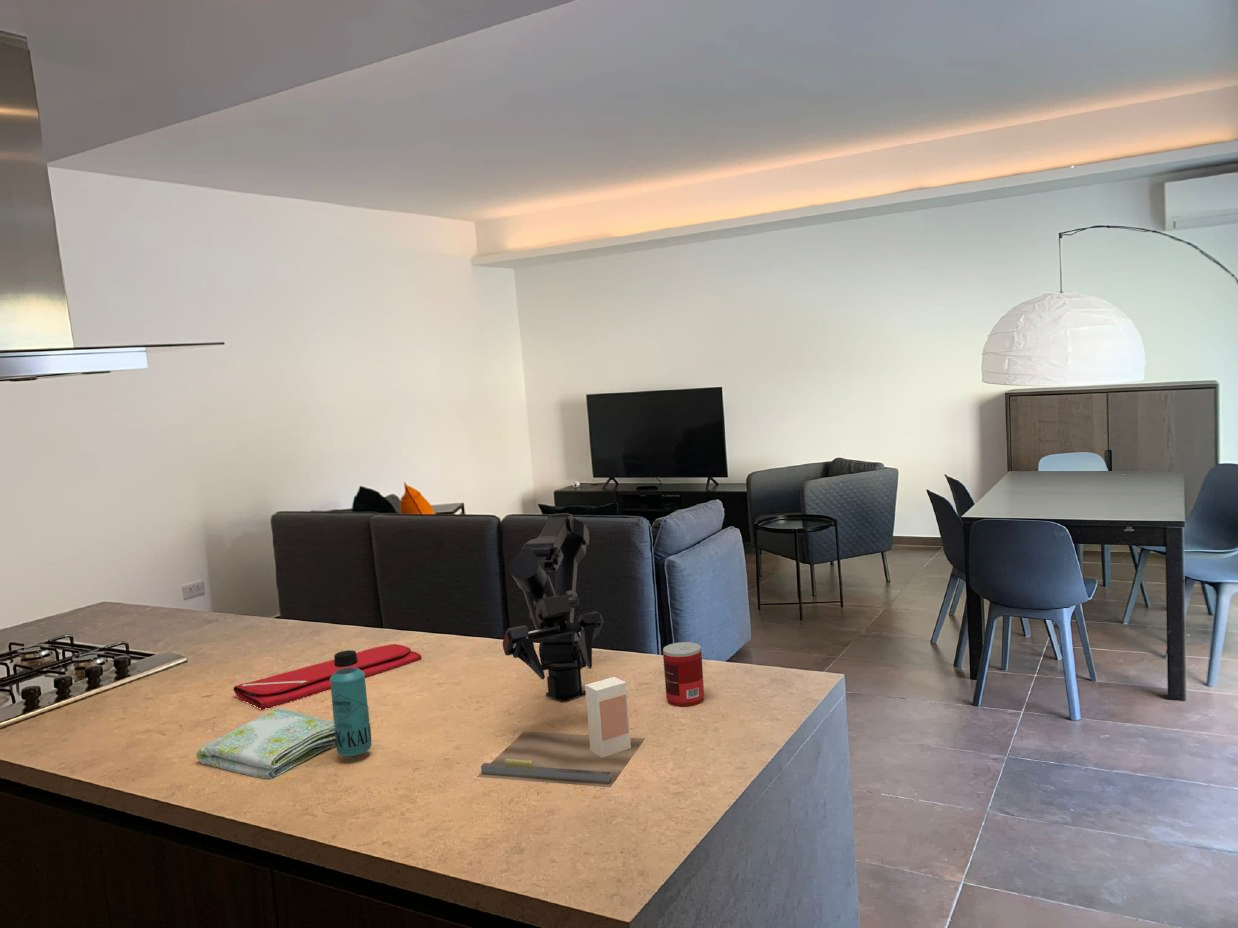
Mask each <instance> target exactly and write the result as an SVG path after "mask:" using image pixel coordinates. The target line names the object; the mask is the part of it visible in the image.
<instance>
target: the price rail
mask: <svg viewBox="0 0 1238 928" xmlns="http://www.w3.org/2000/svg"><path fill="white" fill-rule="evenodd" d="M481 772H482V775H495V776H508V777H521V778H534V779H547V780H560V781H573V782H586V783H599V784H610V783H611V781H612V778H611V772H602V771H588V770H574V769H561V768H547V767H533V761H532V760H518V759H505V764H491V762H490V763H489V762H484V763H482V764H481V766H480V773H481Z"/></svg>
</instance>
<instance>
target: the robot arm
mask: <svg viewBox="0 0 1238 928" xmlns="http://www.w3.org/2000/svg"><path fill="white" fill-rule="evenodd" d="M589 543H590V532H589V528H588V527H587V526H586V524H585V522H583V521H581V520H579V519H576V518H574V516H573V514H572V513H571V514H570V513H568V512H566V513H552V514H549V515H548V517H547V523H546V524H545V526H544V527H543V529H542V531H541V532H540V534H539V536H538V537H537V538H533V539H530V540H528V541H527V542H526V543H524V545H523V547H521V550H520V552H519V553H517V554H516V555H515V556H514V557H513V558H511V560H510V562H509V565H508V571H509V573H510V575H511V577H512V578H513V580H514V581H515V583H516V584H517V586H518V588H519V589H521V591H522V592H523V594H524V598H525V601H526V604H527V607H528V609H529V617H530V621H532V622H533V624H534V627H535V629H533V630H530V631H529V628H528V626H527V625H526V624H523V625H519V626H513V627H510V628H509V627H508V628H506V631H505V633H504V638H503V640H502V649H503V652H504V655H505V656H512V658H513V659H516V658H517V659H520V661H522V662H523V663H525V664H526V665H527V666H528V667H529V668H530V669H531V670H532V671H533V672H534V673H535V674H536V675H537V676H538V678H540V679H541V680H545V678H547V679H546V680H547V682H546V683H547V692H546V693H545V696H546V697H549V698H551V699H553V700H557V701H559V702H561V703H562V702H563V703H564V702H567V701H570V700H573V699H575V698H578V697H582V696H584V695H586V689H583V686H582V669H583V668H586V667H587V668H588V669H589V670H590V669H592V667H593V641H594V640H595V638H596V637H598V636H599V635H600V633H601V630H602V627H603V625H604V623H605V621H604V618H603V616H602V614H601V612H599V611H591V612H590V611H589V612H585V613H579V616H578V618H577V621H575V622H574V618H575V617H574V616H575V615H574V614H575V608H577V607H579V606H580V599H579V596H578V593H577V591H576V589H577V588H576V587H577V578H578V577H577V576H578V566H579V564H580V562H581V561H582V560H583V559H584V557H585V556H586V553H587V546H588V545H589ZM548 572H555V581H554V582H555V583H554V586H553V582H552V579H551V578H550V575H549V574H548ZM537 641H540V642H539V645H538V654H537V651H536V648H535V645H534V644H535V643H534V642H537ZM538 655H539V656H538ZM545 671H547V673H548V676H547V677H546V675H545Z"/></svg>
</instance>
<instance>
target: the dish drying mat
mask: <svg viewBox="0 0 1238 928" xmlns="http://www.w3.org/2000/svg"><path fill="white" fill-rule="evenodd" d="M356 655H357V659H358V662H357V663H356V664H354V665H351V666H347V667H356V668H358V669H360V670H362V671H363V672H364V673H365V679H367V678H370V677H373V676H376V675H379V674H382V673H385V672H388V671H391V670H394V669H397V668H400V667H403V666H406V665H410V664H413V663H415V662H418V661H421V660H422V655H421V654H420V653H419V652H418V651H417V652H416V651H413V650H411V648H410V647H408V646H405V645H402V644H397V643H395V644H394V643H393V644H386V645H381V646H376V647H373V648H368V649H365V650H362V651H358V652H356ZM347 667H336V666H335V665H334V659H331V660H328V661H327V660H326V661H324V662H319V663H315V664H312V665H311V664H310V665H308V666H305V667H301V668H297V669H293V670H290V671H286V672H283V673H279V674H275V675H271V676H269V677H264V678H261V679H256V680H254V681H249V682H245V683H240V684H238V685H234V687H233V689H232V690H233V691H234V693H235V695H236V697H237V698H239V700H240V699H241V700H240V701H242V702H243V701H245V702H248V703H249V704H252V705H255V706H256V707H258V708H261V710H263V709H265V708H270V707H273V706H276V705H279V706H281V705H280V704H282V705H285V704H284V703H286V702H289V703H291V702H290V701H292V702H295V701H298V700H301V698H302V699H304V698H303V697H305V698H307V696H308V697H311V696H314V695H317V694H321V693H323V691H324V692H327V691H331V683H330V677H331V676H332V675H333V674H334V672H335V671H337V670H339V669H342V668H347ZM320 692H321V693H320ZM313 694H314V695H313ZM297 699H298V700H297ZM294 700H295V701H294ZM245 702H244V703H245ZM249 704H248V705H249ZM286 704H287V703H286ZM252 705H251V706H252ZM256 707H255V708H256ZM276 707H277V706H276ZM258 708H257V709H258ZM273 708H274V707H273ZM270 709H271V708H270ZM261 710H260V711H261ZM263 711H264V710H263Z"/></svg>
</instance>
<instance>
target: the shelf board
mask: <svg viewBox="0 0 1238 928" xmlns="http://www.w3.org/2000/svg"><path fill="white" fill-rule="evenodd" d="M645 739H646V738H645V737H631V736H630V742H631V748H630V749H627V750H624V751H621V752H618V753H615V754H612V755H609V756H606V757H603V758H602V757H600V756H598V755H597V754H595V753H594V752H592V751H590V739H589V734H581V733H580V734H577V733H563V732H561V733H559V732H558V733H557V732H543V731H542V732H541V731H528V730H526V731H525V730H524V731H523V732H522V733H520V735H518V737H516V738H515V739H514V740H513V741H512V742H511V743H510V744H509V745H508V746H507V747H506V748H504V750H503V751H502V752H501V753H500V754H499V755H498V756H496V758H494V759H493V760H492V761H491V762H490V763H491V764H505V759H518V760H532V761H533V767H547V768H561V769H574V770H588V771H602V772H611V778H612V781H611V783H610V784H599V783H586V782H573V781H560V780H547V779H534V778H521V777H508V776H495V775H482V772H481V771H480V773H478V775H477V776H476V777H477V778H486V779H497V780H500V779H501V780H512V781H525V782H537V783H538V782H539V783H549V784H550V783H551V784H562V785H563V784H565V785H575V786H576V785H577V786H587V787H588V786H589V787H600V788H601V787H602V788H611V787H612V786H613V784H614V783H615V782H616V781H617V779H618V777H619V776H620V775H621V773H622V772H623V770H624V769H625V768H626V767H627V764H628V763H629V762H630V760H631V759H632V757H633V756H634V755H635V753H637V750H638V749H639V748H640V746H641V745H642V744H643V742H644V741H645Z"/></svg>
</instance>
